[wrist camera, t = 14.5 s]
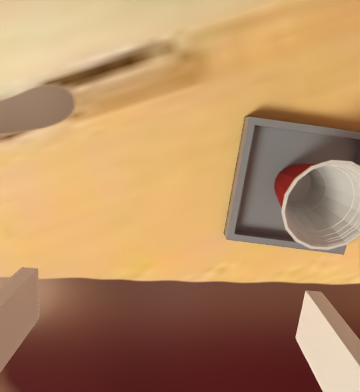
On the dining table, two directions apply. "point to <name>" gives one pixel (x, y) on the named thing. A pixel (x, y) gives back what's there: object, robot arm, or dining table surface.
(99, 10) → the dining table surface
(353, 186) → the plastic cup
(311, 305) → the robot arm
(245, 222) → the tray
